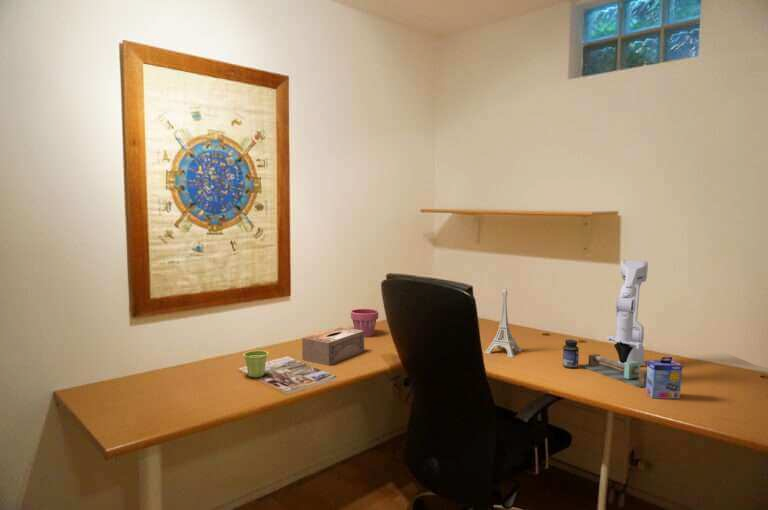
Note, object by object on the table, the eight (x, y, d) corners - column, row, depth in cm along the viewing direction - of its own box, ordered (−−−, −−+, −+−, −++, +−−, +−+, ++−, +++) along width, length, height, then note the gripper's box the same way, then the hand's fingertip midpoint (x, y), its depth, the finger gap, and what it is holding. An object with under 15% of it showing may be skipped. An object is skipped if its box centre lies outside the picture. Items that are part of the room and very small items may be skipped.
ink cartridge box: (652, 398, 177) (654, 357, 175) (644, 393, 182) (646, 353, 181) (681, 399, 176) (683, 358, 175) (672, 393, 182) (674, 353, 181)
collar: (624, 377, 196) (624, 362, 195) (634, 375, 199) (635, 360, 198) (628, 379, 194) (629, 363, 194) (639, 376, 197) (640, 361, 196)
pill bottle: (579, 369, 209) (580, 343, 208) (563, 368, 210) (564, 342, 209) (576, 365, 215) (577, 339, 214) (561, 364, 216) (562, 338, 215)
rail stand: (581, 366, 213) (581, 354, 212) (598, 363, 217) (599, 351, 216) (640, 387, 187) (640, 373, 187) (658, 384, 192) (659, 370, 191)
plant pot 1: (246, 380, 194) (246, 358, 193) (241, 373, 202) (241, 352, 201) (271, 377, 198) (270, 355, 197) (265, 370, 206) (264, 349, 206)
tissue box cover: (328, 366, 213) (328, 342, 212) (302, 360, 221) (302, 338, 220) (364, 352, 234) (364, 330, 234) (339, 347, 242) (339, 326, 241)
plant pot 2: (382, 333, 269) (382, 309, 268) (371, 339, 256) (371, 314, 255) (358, 331, 274) (358, 307, 273) (346, 336, 262) (345, 312, 261)
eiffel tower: (513, 357, 226) (514, 290, 223) (484, 353, 233) (485, 288, 230) (521, 350, 237) (523, 286, 235) (494, 346, 244) (495, 284, 242)
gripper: (602, 325, 203) (600, 358, 205) (633, 333, 190) (632, 368, 192) (614, 323, 206) (613, 356, 208) (646, 331, 193) (644, 366, 195)
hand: (623, 362), depth 200 cm, fingers closed
